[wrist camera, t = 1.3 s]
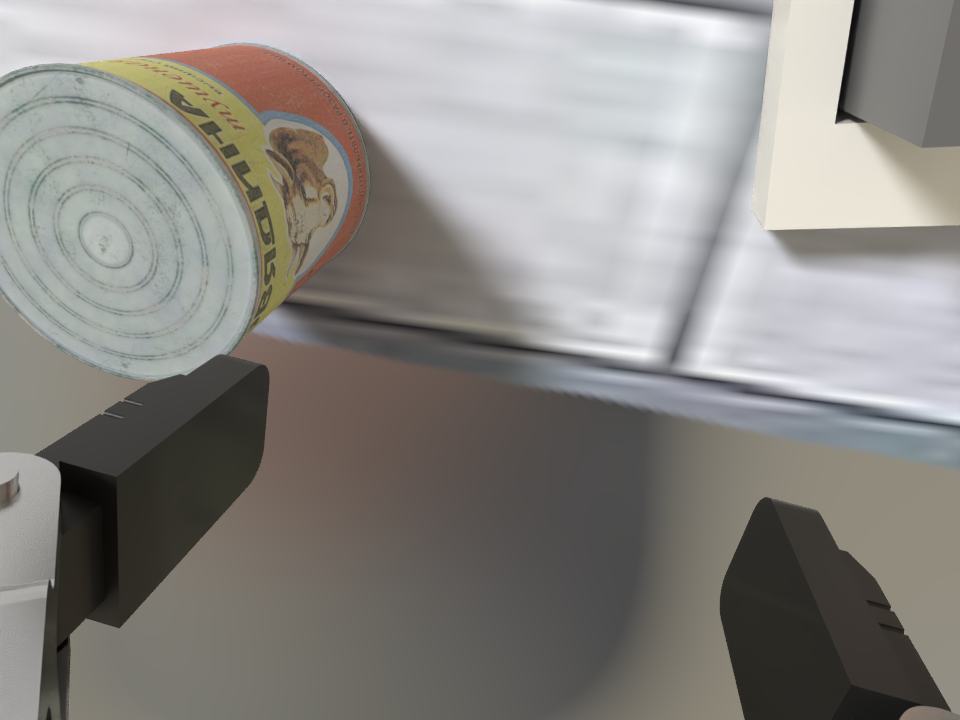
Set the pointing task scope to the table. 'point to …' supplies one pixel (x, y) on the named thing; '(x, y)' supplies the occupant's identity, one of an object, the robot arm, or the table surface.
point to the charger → (905, 69)
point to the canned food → (170, 200)
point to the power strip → (836, 140)
